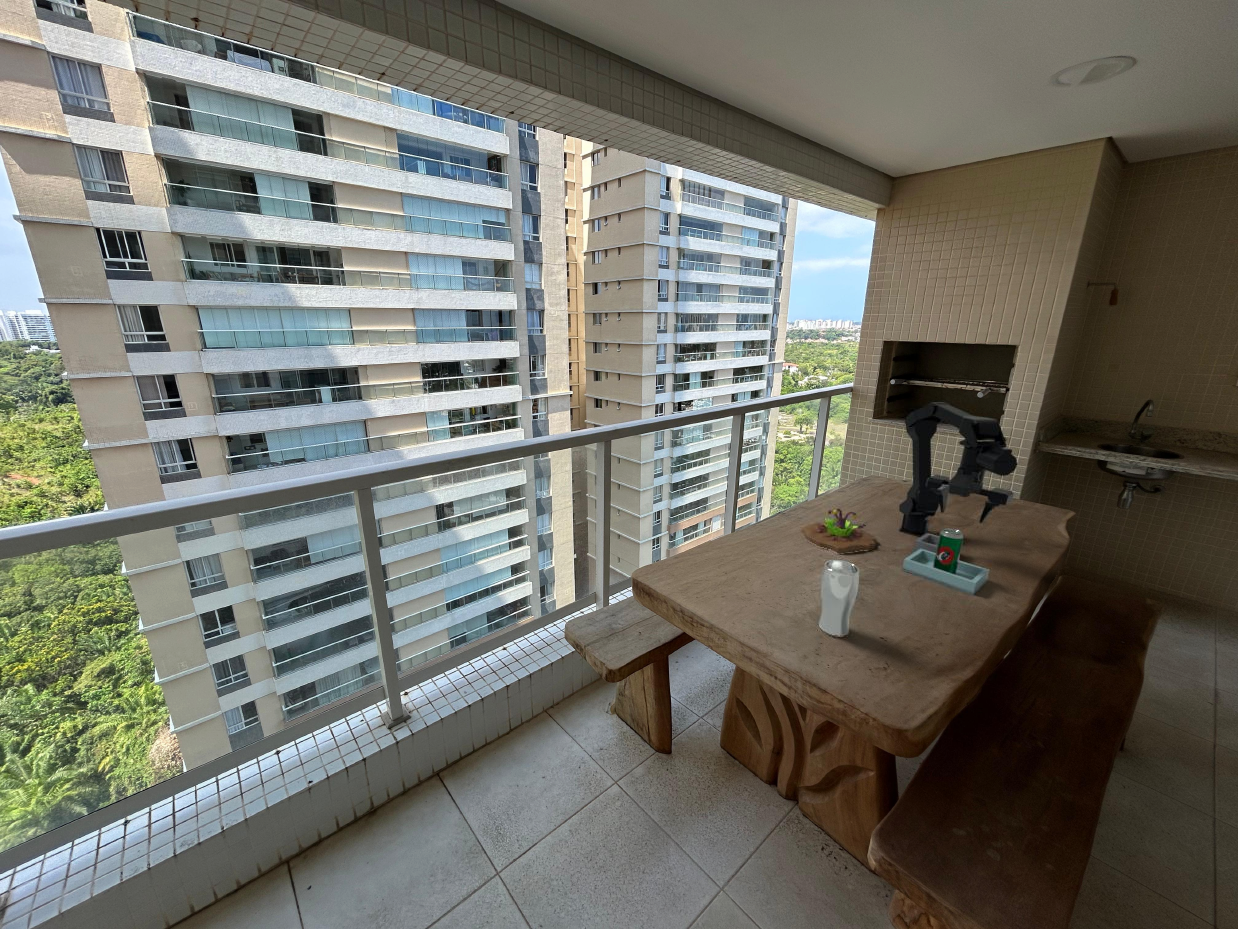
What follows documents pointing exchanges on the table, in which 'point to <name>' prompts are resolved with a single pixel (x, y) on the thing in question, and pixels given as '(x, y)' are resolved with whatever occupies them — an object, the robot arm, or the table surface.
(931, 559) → the trough
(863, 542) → the plant
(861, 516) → the table surface
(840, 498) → the table surface
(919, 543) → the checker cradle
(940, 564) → the soda can
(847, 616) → the beer glass
